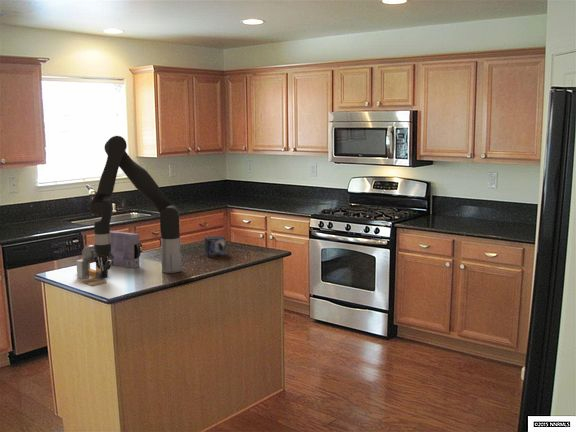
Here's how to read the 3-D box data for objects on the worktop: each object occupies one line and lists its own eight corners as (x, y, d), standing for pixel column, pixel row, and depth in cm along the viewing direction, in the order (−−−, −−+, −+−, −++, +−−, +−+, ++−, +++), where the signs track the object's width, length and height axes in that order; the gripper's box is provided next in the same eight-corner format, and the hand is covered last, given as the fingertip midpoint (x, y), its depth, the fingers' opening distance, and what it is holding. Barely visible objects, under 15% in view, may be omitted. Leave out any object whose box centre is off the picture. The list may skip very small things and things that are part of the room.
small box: (207, 257, 326) (207, 239, 324) (204, 255, 332) (204, 236, 330) (226, 255, 330) (225, 237, 329) (222, 253, 336) (222, 235, 334)
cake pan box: (141, 266, 307) (140, 233, 304) (136, 268, 303) (134, 234, 300) (111, 262, 314) (110, 230, 311) (105, 264, 310) (104, 231, 307)
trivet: (106, 282, 277) (106, 281, 277) (92, 286, 271) (92, 284, 271) (94, 279, 283) (94, 277, 283) (81, 282, 278) (81, 280, 278)
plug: (106, 277, 285) (105, 266, 284) (97, 279, 282) (97, 268, 281) (86, 270, 298) (85, 260, 297) (78, 272, 295) (77, 261, 294)
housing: (107, 273, 293) (106, 243, 291) (82, 279, 283) (80, 248, 280) (102, 271, 296) (101, 242, 294) (77, 277, 286) (75, 247, 283)
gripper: (117, 243, 278) (118, 278, 281) (101, 239, 286) (103, 274, 289) (103, 245, 272) (105, 282, 275) (87, 241, 281) (89, 277, 284)
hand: (104, 277), depth 282 cm, fingers closed
